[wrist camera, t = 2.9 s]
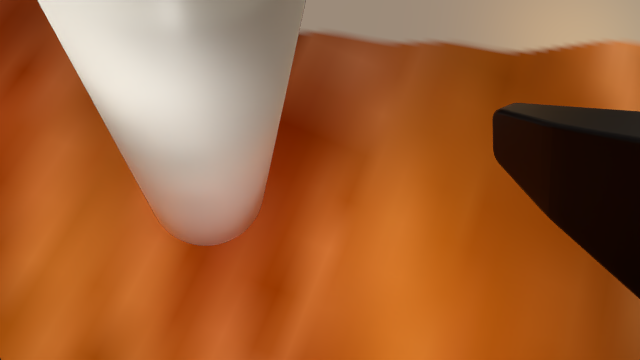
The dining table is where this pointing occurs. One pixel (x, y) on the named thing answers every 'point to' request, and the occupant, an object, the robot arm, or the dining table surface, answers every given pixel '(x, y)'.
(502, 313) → the dining table surface
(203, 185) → the white tapered cylinder
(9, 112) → the dining table surface
